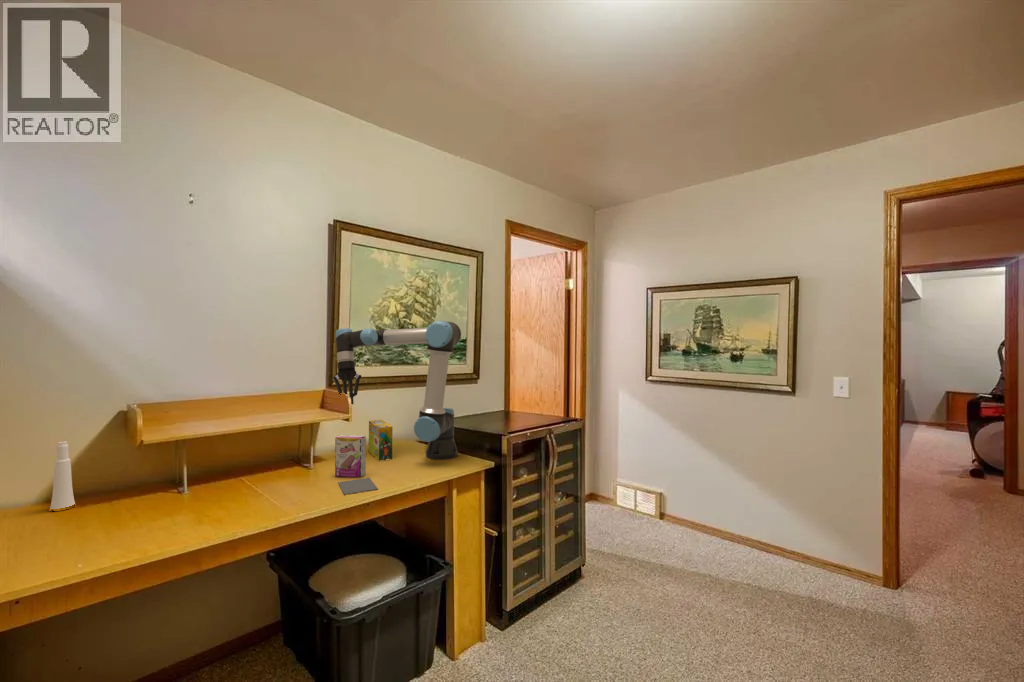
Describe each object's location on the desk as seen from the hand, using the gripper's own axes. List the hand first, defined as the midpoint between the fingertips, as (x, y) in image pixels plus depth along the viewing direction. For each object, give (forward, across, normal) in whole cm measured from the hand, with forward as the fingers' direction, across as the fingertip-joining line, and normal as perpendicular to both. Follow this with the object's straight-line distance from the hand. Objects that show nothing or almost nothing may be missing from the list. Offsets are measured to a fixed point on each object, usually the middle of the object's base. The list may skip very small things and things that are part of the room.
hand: (349, 411), depth 205 cm
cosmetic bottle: (+22, +94, +4) cm, 96 cm away
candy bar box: (+27, +5, +17) cm, 33 cm away
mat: (+31, +6, +32) cm, 45 cm away
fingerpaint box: (+22, -14, -7) cm, 27 cm away
